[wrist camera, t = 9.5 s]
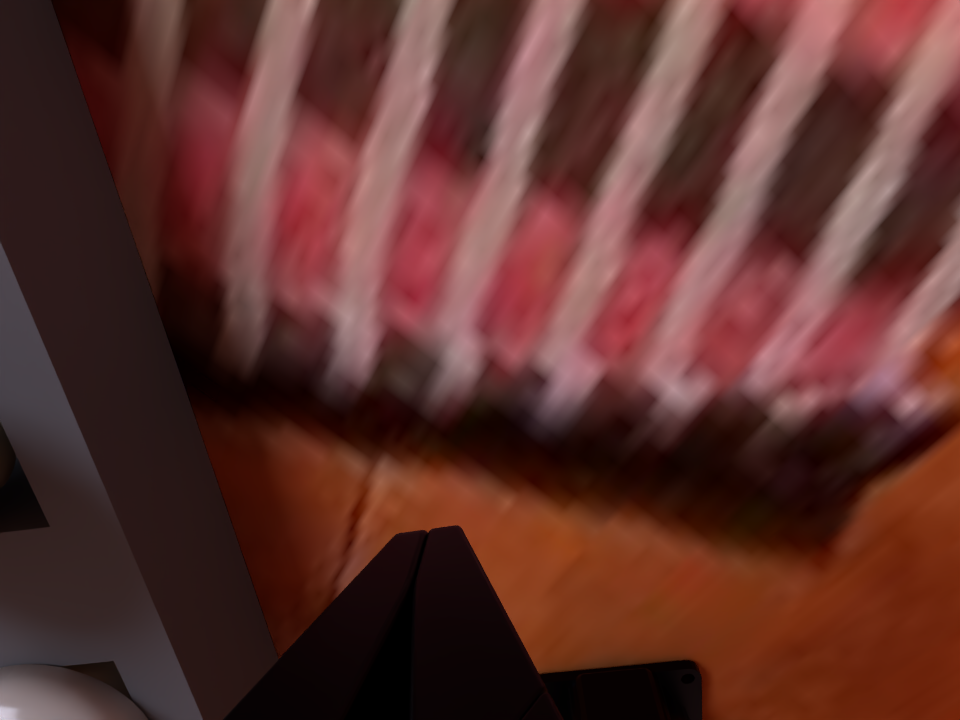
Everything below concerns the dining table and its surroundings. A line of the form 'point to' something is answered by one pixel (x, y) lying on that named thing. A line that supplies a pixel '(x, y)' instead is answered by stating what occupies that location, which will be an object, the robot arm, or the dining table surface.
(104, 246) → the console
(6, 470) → the knob mid
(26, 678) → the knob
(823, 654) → the dining table surface
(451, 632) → the robot arm
